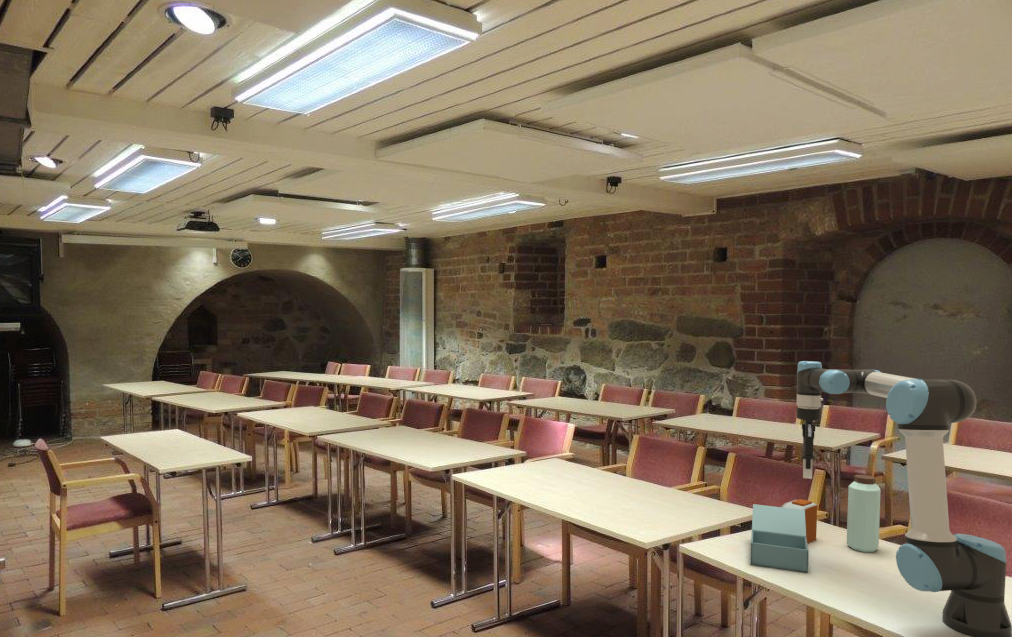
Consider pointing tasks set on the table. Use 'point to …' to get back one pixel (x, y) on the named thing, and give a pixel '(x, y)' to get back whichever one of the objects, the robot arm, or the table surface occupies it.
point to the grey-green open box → (779, 551)
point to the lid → (779, 520)
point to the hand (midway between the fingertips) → (807, 478)
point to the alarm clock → (806, 516)
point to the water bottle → (863, 514)
